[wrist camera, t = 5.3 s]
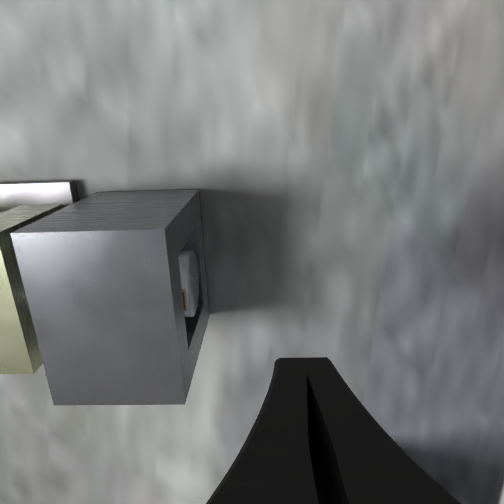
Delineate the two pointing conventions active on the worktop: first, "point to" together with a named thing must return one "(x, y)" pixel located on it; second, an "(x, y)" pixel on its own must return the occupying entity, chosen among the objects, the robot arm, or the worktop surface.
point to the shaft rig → (9, 278)
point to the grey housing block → (115, 296)
